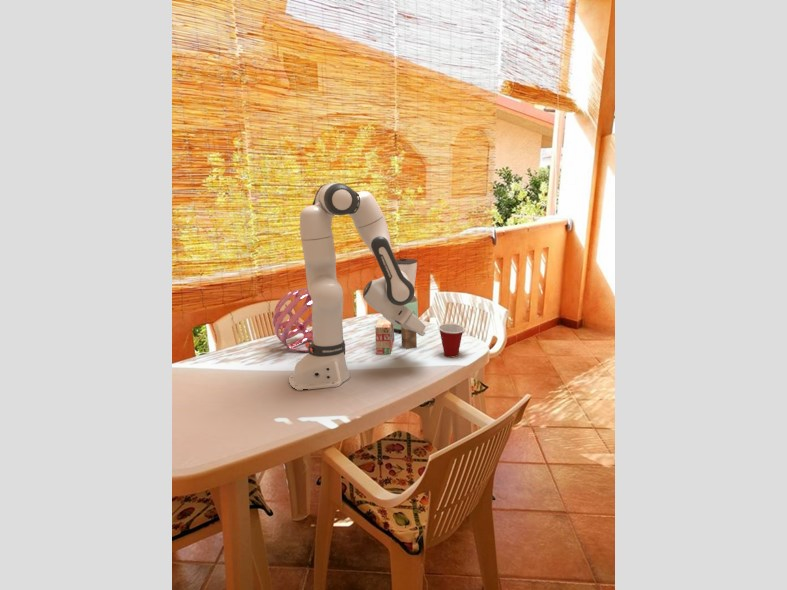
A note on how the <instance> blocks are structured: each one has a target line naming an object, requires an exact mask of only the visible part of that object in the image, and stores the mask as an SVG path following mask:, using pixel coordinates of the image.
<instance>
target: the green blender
mask: <svg viewBox="0 0 787 590" xmlns="http://www.w3.org/2000/svg"><path fill="white" fill-rule="evenodd" d="M395 259H396V261H397V264H398V266H399V268H400V270H401V271H403V272H405V273H406V275H407V276H408V278H409V280H410V282H411V284H412V285H413V287H414V288H415V285H416V277H417V269H418V259H415V258H395ZM405 305H406V306H407V307H408V308H409V309H411V310H412V311H413V312H412V313H413V314H414V315H415V316H416V317H417V318H418V319H419V306H418V305H419V303H418V298H417V297H416V296H415V295H414V297H413V299H412V300H411V301H410V302H409V303H408V304H405ZM395 331H396V332H398V334H401V326H400V325H398V324H396V325H394V332H395Z"/></svg>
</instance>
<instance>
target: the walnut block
mask: <svg viewBox="0 0 787 590" xmlns="http://www.w3.org/2000/svg"><path fill="white" fill-rule="evenodd" d="M417 340H418V339H417V333H416V332H414V331H411V330H409V329H406V328H403V327H402V326H401V346H402V348H404V349H405V350H410V349H412V350H413V349H416V348H417V344H418V343H417Z"/></svg>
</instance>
